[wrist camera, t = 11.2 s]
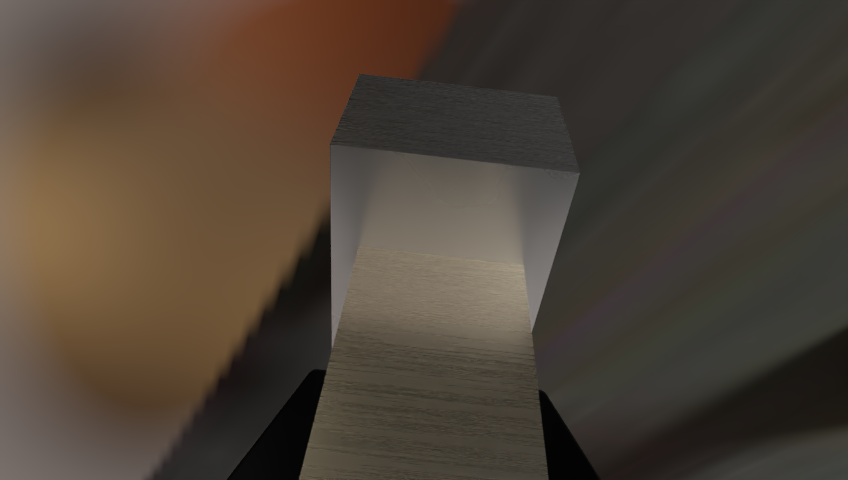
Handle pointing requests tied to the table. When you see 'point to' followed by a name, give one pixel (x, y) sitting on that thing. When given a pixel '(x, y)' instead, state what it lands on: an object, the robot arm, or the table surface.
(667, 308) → the table surface
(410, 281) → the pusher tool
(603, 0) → the table surface
